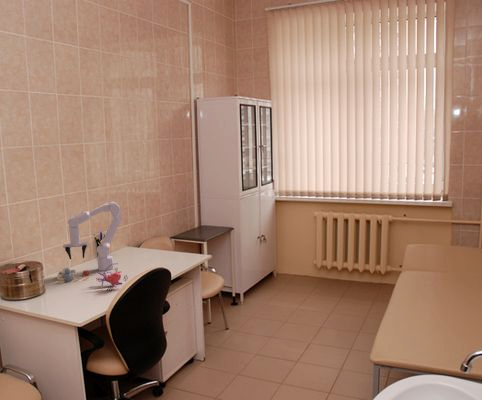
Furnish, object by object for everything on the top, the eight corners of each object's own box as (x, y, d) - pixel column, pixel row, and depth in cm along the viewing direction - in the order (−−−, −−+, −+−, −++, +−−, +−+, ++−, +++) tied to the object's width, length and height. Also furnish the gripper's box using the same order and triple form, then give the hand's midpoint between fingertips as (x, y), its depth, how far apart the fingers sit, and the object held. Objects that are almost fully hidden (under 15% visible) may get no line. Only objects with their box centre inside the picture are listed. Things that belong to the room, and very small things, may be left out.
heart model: (117, 294, 259) (89, 286, 264) (125, 293, 267) (97, 285, 272) (123, 266, 260) (95, 259, 265) (131, 266, 268) (103, 259, 273)
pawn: (72, 279, 282) (71, 267, 280) (71, 281, 278) (70, 269, 277) (65, 280, 281) (64, 268, 280) (64, 282, 277) (63, 269, 276)
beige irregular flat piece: (95, 273, 295) (94, 267, 294) (92, 282, 278) (92, 275, 277) (57, 278, 290) (57, 271, 290) (53, 287, 274) (52, 279, 273)
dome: (72, 274, 290) (71, 266, 289) (71, 277, 285) (70, 268, 284) (62, 275, 289) (61, 267, 288) (61, 278, 284) (60, 269, 283)
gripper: (61, 239, 286) (63, 261, 288) (86, 237, 289) (88, 258, 291) (63, 236, 293) (65, 258, 295) (87, 234, 296) (89, 255, 298)
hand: (77, 258), depth 293 cm, fingers open, 7 cm apart
